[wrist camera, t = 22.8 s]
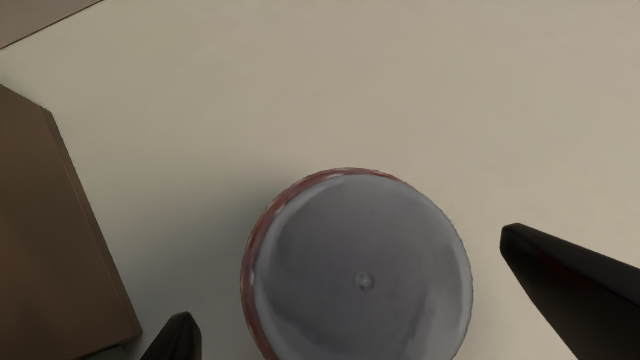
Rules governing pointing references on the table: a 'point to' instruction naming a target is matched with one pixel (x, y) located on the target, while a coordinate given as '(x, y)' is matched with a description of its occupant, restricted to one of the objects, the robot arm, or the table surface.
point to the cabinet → (51, 248)
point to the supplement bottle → (355, 272)
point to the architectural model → (33, 16)
